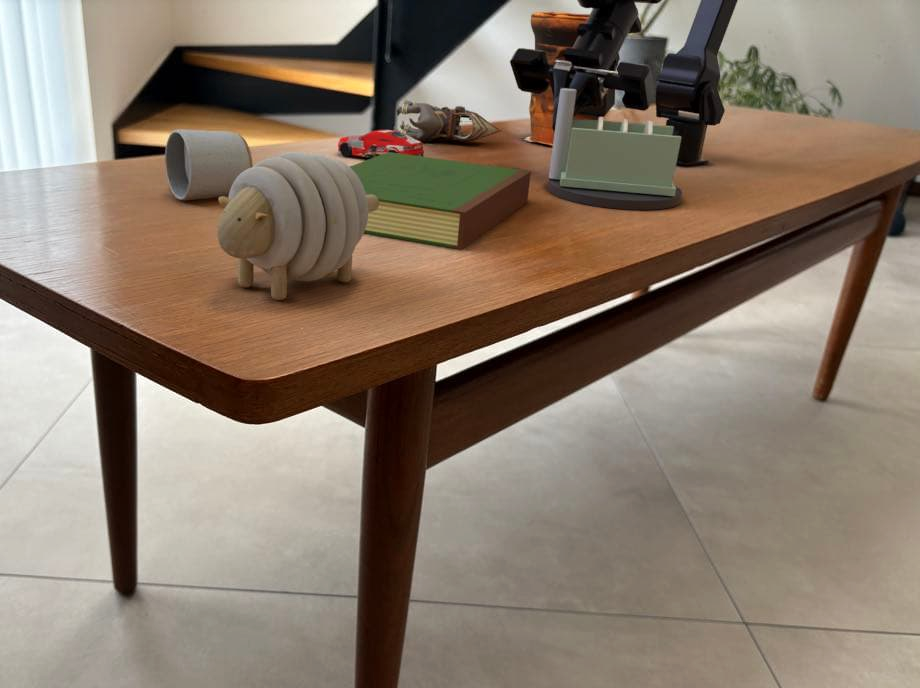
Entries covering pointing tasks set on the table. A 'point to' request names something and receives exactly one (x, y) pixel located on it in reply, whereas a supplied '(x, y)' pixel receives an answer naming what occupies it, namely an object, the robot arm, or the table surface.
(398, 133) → the race car
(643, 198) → the turntable
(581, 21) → the vessel
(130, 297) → the table surface
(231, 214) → the toy sheep
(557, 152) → the dish rack
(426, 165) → the hardcover book
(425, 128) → the figurine
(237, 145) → the ceramic mug
